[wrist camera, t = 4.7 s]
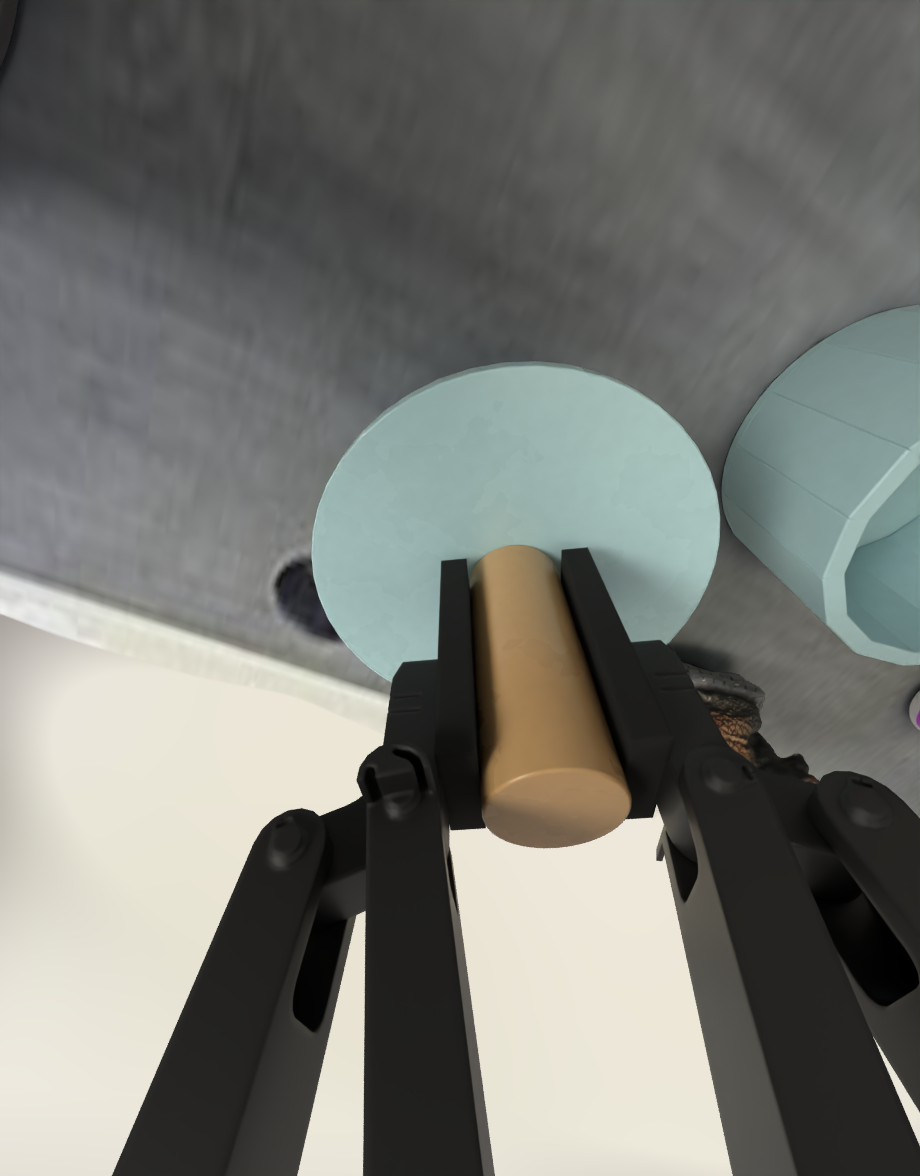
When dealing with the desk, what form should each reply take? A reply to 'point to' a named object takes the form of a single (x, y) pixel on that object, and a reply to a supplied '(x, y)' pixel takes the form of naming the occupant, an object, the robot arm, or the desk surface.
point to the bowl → (840, 483)
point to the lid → (520, 564)
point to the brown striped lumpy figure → (744, 721)
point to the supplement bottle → (915, 711)
